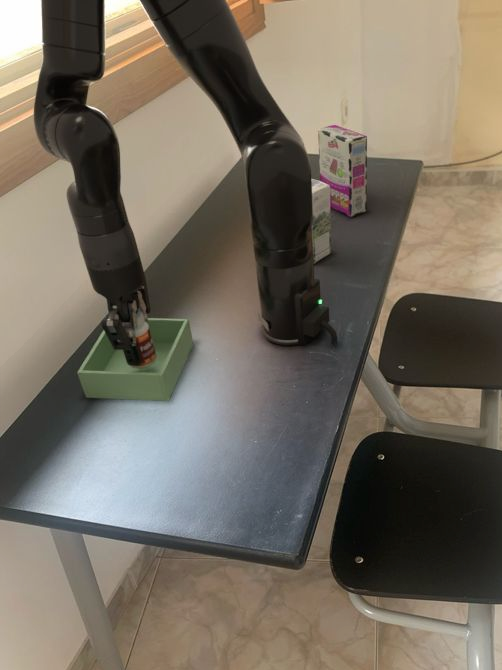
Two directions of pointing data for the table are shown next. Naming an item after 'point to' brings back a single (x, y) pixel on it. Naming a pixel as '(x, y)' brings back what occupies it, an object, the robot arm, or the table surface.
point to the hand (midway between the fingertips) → (140, 353)
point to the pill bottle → (143, 342)
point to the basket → (131, 383)
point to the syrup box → (321, 220)
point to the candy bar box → (344, 168)
